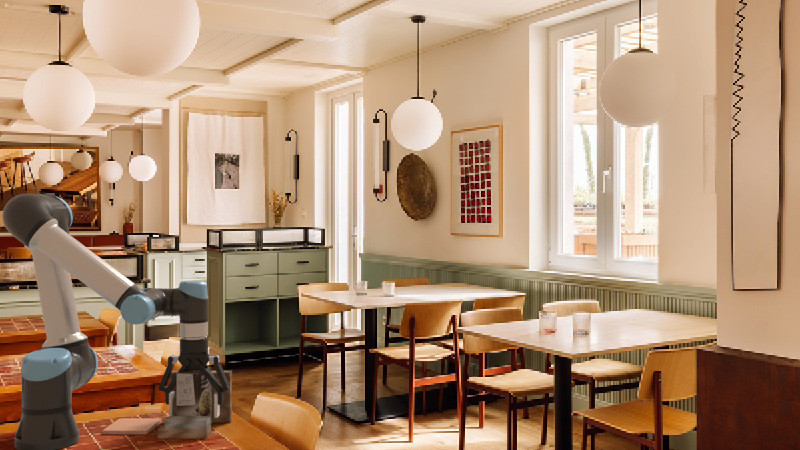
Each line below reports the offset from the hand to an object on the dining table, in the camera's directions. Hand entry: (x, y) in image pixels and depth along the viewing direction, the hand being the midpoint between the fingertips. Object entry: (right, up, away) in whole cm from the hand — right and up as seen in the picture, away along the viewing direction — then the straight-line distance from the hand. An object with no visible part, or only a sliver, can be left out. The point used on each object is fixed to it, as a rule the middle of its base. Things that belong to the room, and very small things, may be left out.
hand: (194, 416), depth 212 cm
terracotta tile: (-17, -3, 0) cm, 17 cm away
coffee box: (0, -3, 0) cm, 3 cm away
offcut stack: (-1, -4, -7) cm, 8 cm away
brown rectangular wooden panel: (0, -3, +7) cm, 7 cm away
